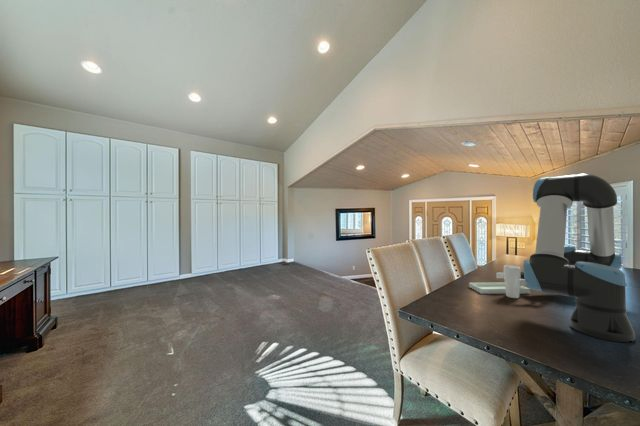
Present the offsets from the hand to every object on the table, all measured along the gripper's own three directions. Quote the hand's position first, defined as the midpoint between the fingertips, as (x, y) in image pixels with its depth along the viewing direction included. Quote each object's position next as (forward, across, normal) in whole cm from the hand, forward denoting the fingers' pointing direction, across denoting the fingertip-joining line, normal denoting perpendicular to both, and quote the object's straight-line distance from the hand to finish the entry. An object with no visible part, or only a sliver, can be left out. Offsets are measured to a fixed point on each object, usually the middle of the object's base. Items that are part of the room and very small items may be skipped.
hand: (507, 278), depth 124 cm
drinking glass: (-2, 0, -9) cm, 9 cm away
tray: (-4, +10, -9) cm, 14 cm away
